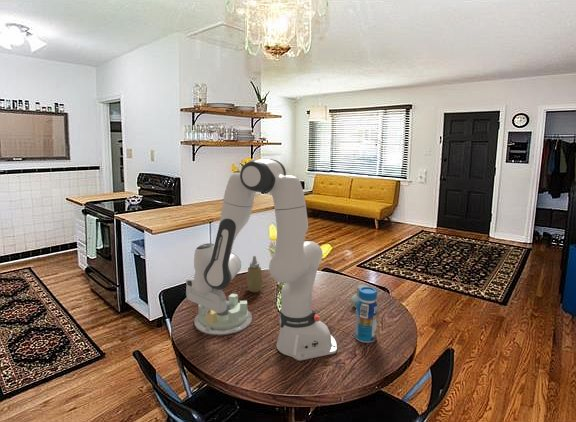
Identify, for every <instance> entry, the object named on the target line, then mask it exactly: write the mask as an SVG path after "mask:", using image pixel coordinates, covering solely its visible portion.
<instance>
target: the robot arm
mask: <svg viewBox="0 0 576 422" xmlns="http://www.w3.org/2000/svg"><path fill="white" fill-rule="evenodd" d="M286 170H287V169H286V167H285V166H284V164H283V163H281V162H280V161H278V160H276V159H267V158H258V159H252V160H250V161H247V162H246V163H245V164H244V165H243V166H242V167H241V169H240V172H234V173H232V174H231V175H230V176H229V178H228V181H227V185H226V187H225V190H224V195H223V199H222V200H223V201H222V205H221V206H222V207H221V212H220V213H221V214H220V218H219V224H218V230H217V233H216V236H215V237H216V238H215V241H214V243H211V242H210V243H203V244H200V245H199V246H198V247H196V248H195V250H194V256H193V257H194V258H193V268H194V276H193V277H190V278H188V279H185V283H186V284H185V285H186V289H185V290H186V291H185V293H186V294H185V296H186V299H187V300H188V301H191V302H193V303H195V304H197V305H198V306H199V305H200V307H201V310H202V312H203V315H204V316H206V313H207V312H209V311H211V310H212V311H215V312H217V313H219V314H220V313H222V312H224V311H225V310H226V309H227V305H226V300H227V299H226V298H227V297H226V295H225V292H224V291H223V290H225V289H227V288H228V286H229V285H230V283H231V282H232V280H233V279H234V278H235V277H236V276H237V274H238V273H240V271H241V269H242V262H241V260H240V257H239V256H238V255H236V254H235V253H233V252H232V250H233V245H234V243H235V241H236V238H237V236H238V235H239V233H240V232H241V231H242V230H243V228H244V227H245V226H246V225H247V223H249V220H250V217H251V215H252V211H253V207H254V200H255V197H256V193H260V194H261V193H262V194H265V195H266V194H270V195H271V197H272V200H273V206H274V207H273V208H274V215H275V224H276V239H275V247H274V252H273V255H272V257H271V258H270V261H269V263H268V271H269V274H270V277H272V279H273V280H275V281H276V282H278V283H280V284H283V286H282V289H281V292H280V293H281V294H280V295H281V296H280V297H281V299H280V304H281V305H280V307H281V308H280V310H279V326H280V327H279V333H278V337H277V338H278V339H277V342H276V349H277V350H278V351H279V352H280V353H282V354H283V355H285V356H288V357H291V358H293V359H295V361H299V362H300V361H304V360H310V359H315V358H320V357H324V356H329V355H334V354H336V353H337V351H338V345H337V344H338V343H337V341H336V339H335V338H334V336H333V335H331V333H330V330H329V327H328V326H327V325H326V323H324V322H323V321H321V318H320V315H319V314H318V313H317V311H316V310H315V309H314V308H313V307H312V302H313V301H312V299H313V298H312V297H313V289H314V284H315V281H316V276H317V272H318V270H319V269H318V268H319V266H320V264H321V261H322V259H323V251H322V247H321V246H320V244H318V243H317V242H315V241H313V240H307V241H305V238H306V234H307V232H308V229H309V221H308V220H309V219H308V213H307V211H308V210H307V203H306V198H305V193H304V189H303V186H302V182H301V180H300V179H299V178H298V177H297V176H294V175H292V174H291V175H289V174H287V172H286ZM206 317H207V316H206Z"/></svg>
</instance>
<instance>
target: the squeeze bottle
mask: <svg viewBox="0 0 576 422" xmlns="http://www.w3.org/2000/svg"><path fill="white" fill-rule="evenodd" d="M246 286H247V289H248V291H249V292H250V293H258V292H260V291H261V289H262V286H263V275H262V268H261V266H260V263H259V261H258V260H257V257H256V255H253V256H252V261H251V262H250V263H249V267H248V268H247V277H246Z"/></svg>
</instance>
